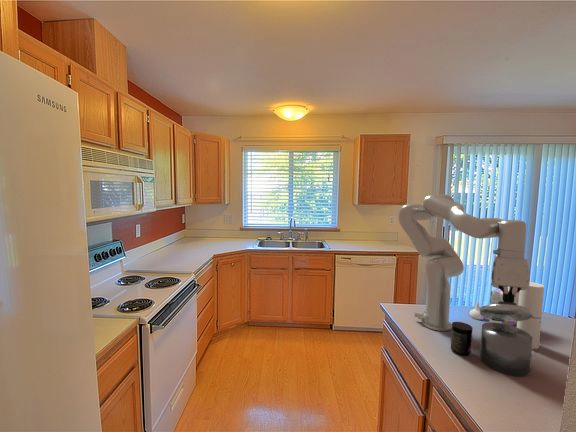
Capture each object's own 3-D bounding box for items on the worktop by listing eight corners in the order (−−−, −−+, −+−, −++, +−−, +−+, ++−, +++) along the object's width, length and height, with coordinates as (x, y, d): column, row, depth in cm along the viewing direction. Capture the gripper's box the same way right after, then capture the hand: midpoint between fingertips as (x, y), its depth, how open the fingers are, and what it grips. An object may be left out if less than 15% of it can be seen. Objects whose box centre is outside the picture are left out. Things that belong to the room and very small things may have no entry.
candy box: (507, 319, 133) (509, 286, 131) (521, 324, 127) (524, 290, 126) (487, 324, 128) (490, 289, 127) (501, 330, 122) (504, 294, 121)
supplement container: (468, 359, 101) (470, 332, 100) (448, 351, 105) (449, 325, 105) (472, 351, 106) (474, 325, 105) (452, 344, 110) (454, 319, 109)
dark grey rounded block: (487, 371, 94) (489, 337, 93) (475, 349, 107) (477, 319, 106) (538, 381, 89) (541, 345, 88) (518, 356, 102) (521, 326, 101)
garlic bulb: (487, 321, 132) (490, 305, 131) (474, 320, 132) (477, 304, 131) (478, 315, 138) (481, 300, 137) (466, 314, 138) (468, 299, 137)
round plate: (474, 318, 107) (473, 309, 109) (521, 324, 102) (519, 315, 104) (486, 305, 95) (485, 295, 97) (541, 312, 90) (538, 301, 92)
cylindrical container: (510, 339, 114) (515, 281, 112) (526, 339, 115) (531, 281, 113) (527, 349, 107) (532, 287, 105) (543, 348, 108) (549, 287, 106)
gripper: (489, 255, 97) (487, 305, 99) (542, 258, 92) (539, 310, 94) (482, 251, 104) (480, 297, 106) (531, 253, 100) (528, 302, 101)
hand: (508, 303), depth 100 cm, fingers closed
